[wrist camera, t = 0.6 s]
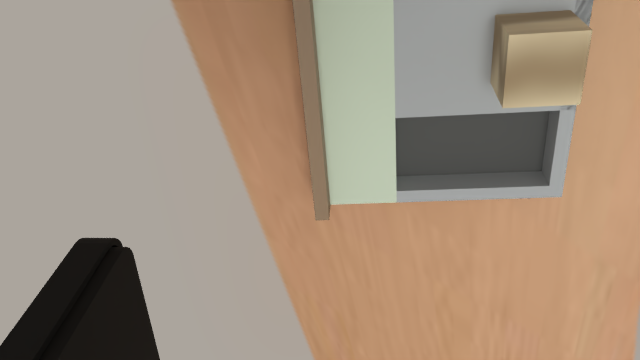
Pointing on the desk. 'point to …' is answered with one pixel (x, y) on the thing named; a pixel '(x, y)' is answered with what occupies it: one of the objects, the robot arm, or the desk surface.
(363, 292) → the desk surface
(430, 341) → the desk surface
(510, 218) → the desk surface
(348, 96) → the board
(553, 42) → the maple block
